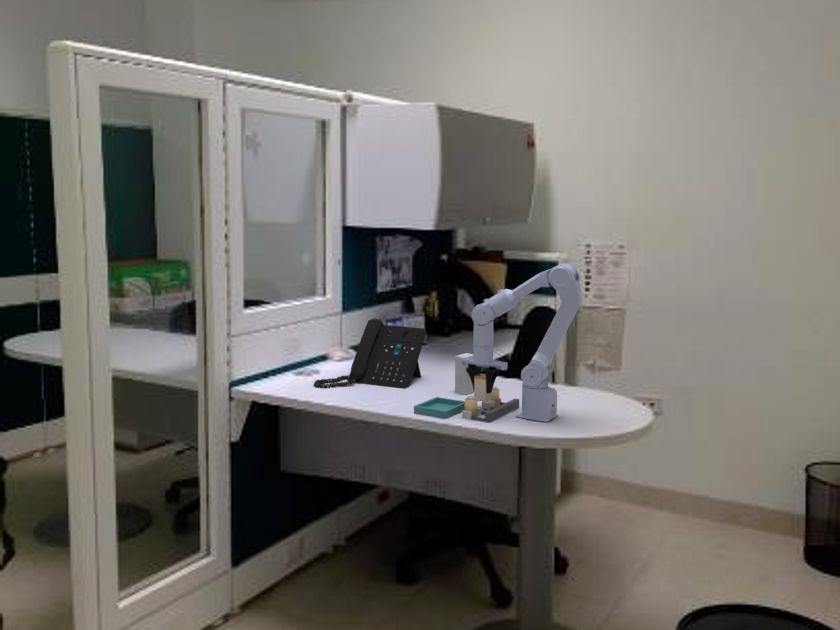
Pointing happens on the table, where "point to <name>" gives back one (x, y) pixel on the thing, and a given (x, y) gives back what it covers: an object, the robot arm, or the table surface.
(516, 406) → the holder block
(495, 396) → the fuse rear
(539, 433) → the table surface
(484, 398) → the block
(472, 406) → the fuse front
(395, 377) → the office phone
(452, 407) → the tray
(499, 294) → the robot arm
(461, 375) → the skincare box
